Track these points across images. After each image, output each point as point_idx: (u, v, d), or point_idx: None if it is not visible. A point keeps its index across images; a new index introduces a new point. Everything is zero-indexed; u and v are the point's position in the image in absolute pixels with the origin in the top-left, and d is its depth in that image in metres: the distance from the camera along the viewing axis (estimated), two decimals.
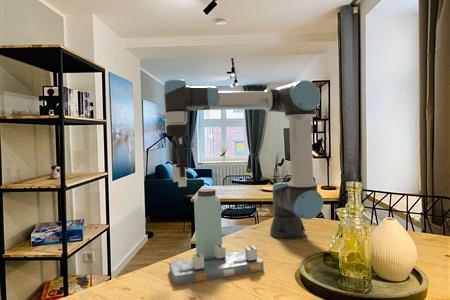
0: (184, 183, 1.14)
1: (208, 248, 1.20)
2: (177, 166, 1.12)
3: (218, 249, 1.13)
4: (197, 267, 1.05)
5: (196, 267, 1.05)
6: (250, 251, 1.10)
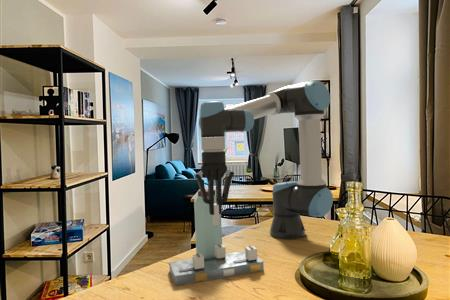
0: (214, 221, 1.07)
1: (208, 248, 1.20)
2: None
3: (218, 249, 1.13)
4: (197, 267, 1.05)
5: (196, 267, 1.05)
6: (250, 251, 1.10)
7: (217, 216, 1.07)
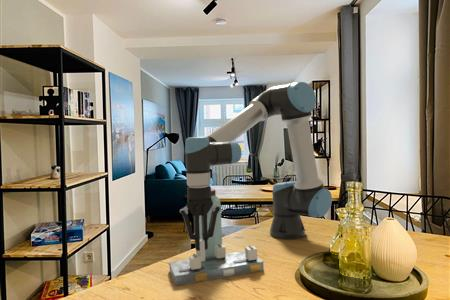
0: None
1: (208, 248, 1.20)
2: None
3: (218, 249, 1.13)
4: (194, 268, 1.05)
5: (193, 268, 1.05)
6: (250, 251, 1.10)
7: (203, 252, 1.06)
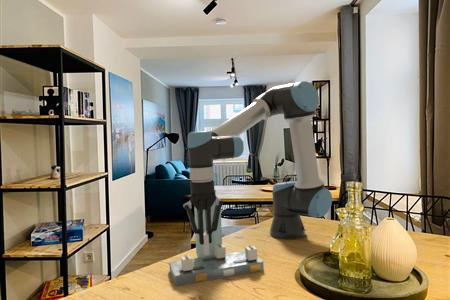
0: (204, 251, 1.07)
1: None
2: None
3: (218, 249, 1.13)
4: (185, 269, 1.04)
5: (184, 269, 1.04)
6: (250, 251, 1.10)
7: (207, 246, 1.06)
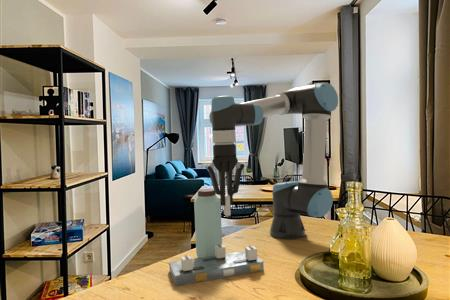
0: (225, 212, 1.11)
1: (208, 248, 1.20)
2: None
3: (218, 249, 1.13)
4: (185, 269, 1.04)
5: (184, 269, 1.04)
6: (250, 251, 1.10)
7: (228, 207, 1.10)
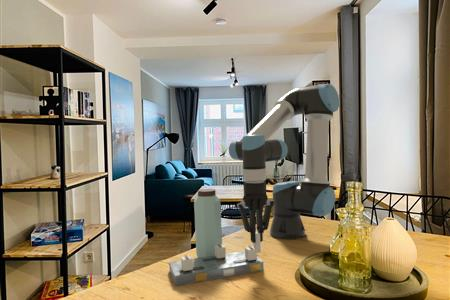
0: None
1: (208, 248, 1.20)
2: None
3: (218, 249, 1.13)
4: (185, 269, 1.04)
5: (184, 269, 1.04)
6: (250, 251, 1.10)
7: (259, 244, 1.11)
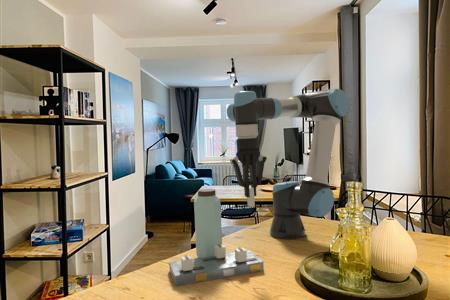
0: (249, 203, 1.15)
1: (208, 248, 1.20)
2: None
3: (218, 249, 1.13)
4: (185, 269, 1.04)
5: (184, 269, 1.04)
6: (239, 253, 1.09)
7: (252, 198, 1.14)
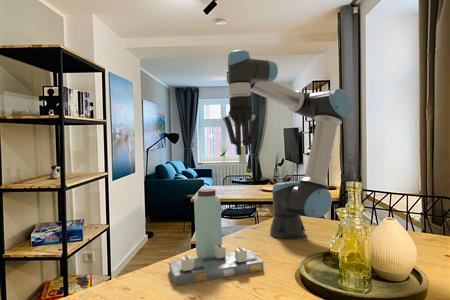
0: (241, 161, 1.17)
1: (208, 248, 1.20)
2: (236, 145, 1.19)
3: (218, 249, 1.13)
4: (185, 269, 1.04)
5: (184, 269, 1.04)
6: (239, 253, 1.09)
7: (244, 156, 1.17)
